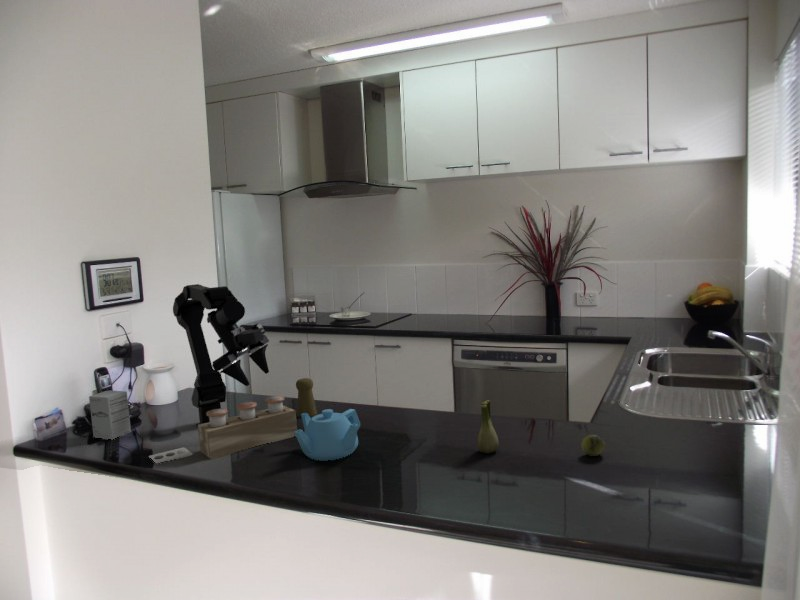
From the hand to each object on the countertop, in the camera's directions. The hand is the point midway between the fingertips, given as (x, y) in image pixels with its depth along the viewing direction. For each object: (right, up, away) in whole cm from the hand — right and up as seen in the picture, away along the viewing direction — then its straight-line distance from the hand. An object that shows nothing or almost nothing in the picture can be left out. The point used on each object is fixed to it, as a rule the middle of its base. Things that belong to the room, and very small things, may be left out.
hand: (258, 379), depth 169 cm
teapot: (+21, -16, -15) cm, 31 cm away
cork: (+10, -13, +20) cm, 26 cm away
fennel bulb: (+60, -15, -22) cm, 65 cm away
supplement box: (-45, -18, +12) cm, 50 cm away
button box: (-1, -17, -4) cm, 17 cm away
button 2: (+5, -10, 0) cm, 11 cm away
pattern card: (-20, -18, -10) cm, 29 cm away
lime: (+82, -14, -29) cm, 88 cm away
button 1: (-8, -12, -9) cm, 17 cm away
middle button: (-2, -11, -4) cm, 12 cm away
